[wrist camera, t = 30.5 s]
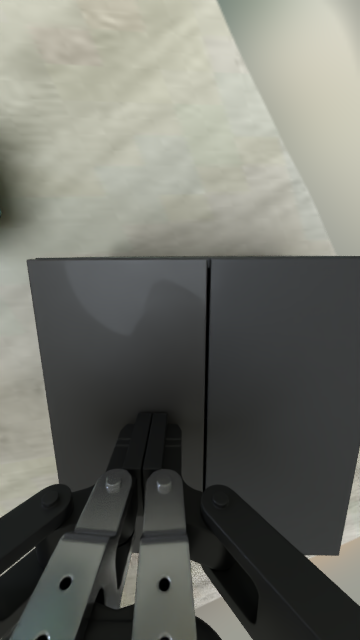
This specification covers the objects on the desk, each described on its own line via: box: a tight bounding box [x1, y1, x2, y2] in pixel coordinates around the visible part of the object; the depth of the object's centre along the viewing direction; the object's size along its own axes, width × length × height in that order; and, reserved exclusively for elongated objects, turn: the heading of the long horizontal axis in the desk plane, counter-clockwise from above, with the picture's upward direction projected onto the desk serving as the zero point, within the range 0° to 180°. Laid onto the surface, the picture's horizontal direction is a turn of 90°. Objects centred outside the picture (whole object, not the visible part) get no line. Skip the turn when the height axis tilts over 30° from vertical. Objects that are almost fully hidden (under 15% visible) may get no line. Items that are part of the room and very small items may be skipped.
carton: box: [36, 256, 360, 556], centre depth 19 cm, size 17×16×13 cm
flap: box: [27, 259, 207, 553], centre depth 13 cm, size 17×8×1 cm, turn 0°
